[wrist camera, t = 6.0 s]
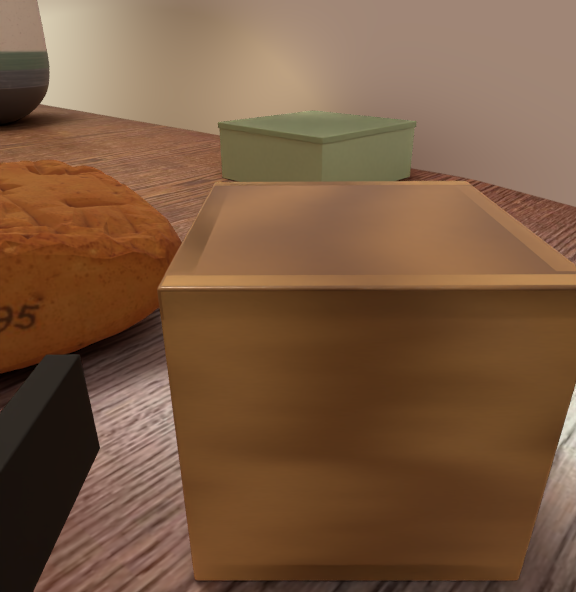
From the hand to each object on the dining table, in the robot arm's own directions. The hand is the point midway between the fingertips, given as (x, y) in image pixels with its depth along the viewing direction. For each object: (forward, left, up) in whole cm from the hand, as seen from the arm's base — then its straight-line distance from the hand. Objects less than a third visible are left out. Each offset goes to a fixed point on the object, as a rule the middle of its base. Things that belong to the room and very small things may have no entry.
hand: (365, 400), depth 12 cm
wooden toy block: (+4, -2, -6) cm, 7 cm away
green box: (+44, -21, -6) cm, 49 cm away
